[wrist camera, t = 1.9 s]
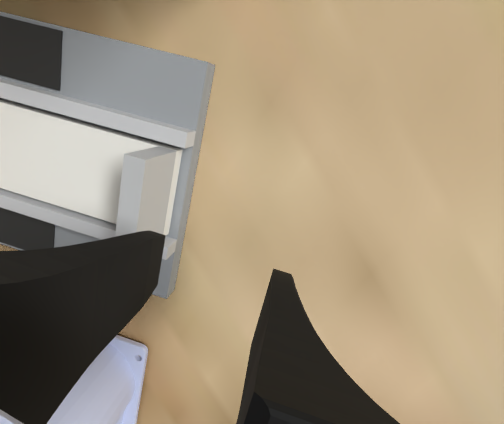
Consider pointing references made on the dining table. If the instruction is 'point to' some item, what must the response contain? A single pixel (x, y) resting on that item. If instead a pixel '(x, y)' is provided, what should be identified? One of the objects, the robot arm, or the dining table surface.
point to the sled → (88, 168)
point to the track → (101, 120)
